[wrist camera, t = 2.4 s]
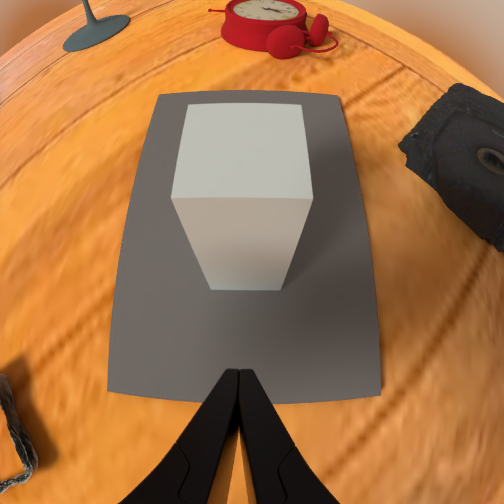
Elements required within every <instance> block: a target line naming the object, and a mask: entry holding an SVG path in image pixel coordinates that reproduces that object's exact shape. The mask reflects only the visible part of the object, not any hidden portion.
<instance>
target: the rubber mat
mask: <svg viewBox="0 0 504 504" xmlns="http://www.w3.org/2000/svg"><path fill="white" fill-rule="evenodd" d="M214 103H273V104H295V105H301V107H302V114H303V121H304V128H305V135H306V142H307V150H308V158H309V166H310V174H311V183H312V192H313V201H312V204H311V207H310V210H309V213H308V215H307V218H306V221H305V224H304V227H303V230H302V233H301V235H300V238H299V241H298V244H297V247H296V249H295V252H294V255H293V258H292V260H291V263H290V266H289V269H288V271H287V274H286V277H285V279H284V282H283V285H282V287H281V290H211V289H210V286H209V284H208V282H207V280H206V278H205V275H204V273H203V271H202V269H201V267H200V264H199V262H198V260H197V258H196V256H195V253H194V251H193V249H192V246H191V244H190V242H189V240H188V237H187V235H186V233H185V230H184V228H183V226H182V223H181V221H180V219H179V216H178V214H177V212H176V209H175V207H174V205H173V202H172V200H171V194H172V187H173V181H174V175H175V170H176V164H177V158H178V153H179V148H180V142H181V137H182V132H183V127H184V123H185V118H186V113H187V109H188V105H192V104H214ZM227 368H237V369H239V371H240V369H253V370H254V372H255V374H256V376H257V377H258V379H259V381H260V383H261V385H262V387H263V388H264V390H265V392H266V394H267V396H268V398H269V399H270V401H271V403H272V404H292V403H312V402H326V401H338V400H348V399H357V398H365V397H373V396H380V395H381V364H380V341H379V325H378V312H377V301H376V290H375V281H374V272H373V264H372V256H371V249H370V242H369V235H368V229H367V223H366V217H365V211H364V205H363V200H362V194H361V189H360V184H359V179H358V174H357V170H356V165H355V161H354V156H353V152H352V147H351V143H350V139H349V135H348V131H347V127H346V123H345V120H344V116H343V112H342V108H341V105H340V101H339V98H338V95H328V94H318V93H306V92H290V91H265V90H223V91H198V92H183V93H171V94H160V95H159V96H158V99H157V102H156V105H155V108H154V112H153V115H152V118H151V121H150V125H149V128H148V131H147V135H146V138H145V142H144V145H143V149H142V153H141V157H140V160H139V164H138V168H137V172H136V176H135V180H134V185H133V189H132V193H131V198H130V203H129V207H128V212H127V217H126V222H125V227H124V233H123V238H122V244H121V250H120V256H119V263H118V269H117V276H116V284H115V292H114V300H113V309H112V319H111V330H110V343H109V360H108V386H107V391H109V392H114V393H121V394H127V395H134V396H141V397H149V398H157V399H166V400H176V401H188V402H202V403H203V402H204V400H205V399H206V398H207V396H208V395H209V393H210V392H211V390H212V389H213V387H214V386H215V384H216V383H217V381H218V380H219V378H220V377H221V375H222V374H223V372H224V371H225V370H226V369H227Z"/></svg>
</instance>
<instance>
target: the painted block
mask: <svg viewBox="0 0 504 504" xmlns="http://www.w3.org/2000/svg"><path fill="white" fill-rule="evenodd" d="M171 200H172V202H173V205H174V207H175V209H176V212H177V214H178V216H179V219H180V221H181V223H182V226H183V228H184V230H185V233H186V235H187V237H188V240H189V242H190V244H191V246H192V249H193V251H194V253H195V256H196V258H197V260H198V262H199V264H200V267H201V269H202V271H203V273H204V275H205V278H206V280H207V282H208V284H209V286H210V289H211V290H281V287H282V285H283V282H284V279H285V277H286V274H287V271H288V269H289V266H290V263H291V260H292V258H293V255H294V252H295V249H296V247H297V244H298V241H299V238H300V235H301V233H302V230H303V227H304V224H305V221H306V218H307V215H308V213H309V210H310V207H311V204H312V201H313V192H312V183H311V174H310V166H309V158H308V150H307V142H306V135H305V128H304V121H303V114H302V107H301V105H295V104H273V103H214V104H192V105H188V109H187V113H186V118H185V123H184V127H183V132H182V137H181V142H180V148H179V153H178V158H177V164H176V170H175V175H174V181H173V187H172V194H171Z"/></svg>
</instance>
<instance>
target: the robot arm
mask: <svg viewBox="0 0 504 504" xmlns="http://www.w3.org/2000/svg"><path fill="white" fill-rule="evenodd" d="M238 433H240V443H241V450H242V458H243V466H244V473H245V480H246V487H247V495H248V501H249V504H340V503H339V502H338V501H337V500H336V498H335V497H334V496H333V495H332V494H331V493H330V492H329V490H328V489H327V488H326V487H325V486H324V485H323V484H322V482H321V481H320V480H319V479H318V478H317V476H316V475H315V474H314V472H313V471H312V470H311V469H310V467H309V466H308V464H307V463H306V461H305V460H304V458H303V457H302V455H301V453H300V452H299V450H298V448H297V447H296V446H295V443H294V442H293V440H292V438H291V437H290V435H289V433H288V431H287V430H286V428H285V426H284V424H283V423H282V421H281V419H280V417H279V416H278V414H277V412H276V410H275V408H274V407H273V405H272V403H271V401H270V399H269V398H268V396H267V394H266V392H265V390H264V388H263V387H262V385H261V383H260V381H259V379H258V377H257V376H256V374H255V372H254V370H253V369H240V371H239V369H237V368H227V369H226V370H225V371H224V372H223V374H222V375H221V377H220V378H219V380H218V381H217V383H216V384H215V386H214V387H213V389H212V390H211V392H210V393H209V395H208V396H207V398H206V399H205V400H204V402H203V403H202V405H201V406H200V408H199V409H198V411H197V412H196V414H195V415H194V416H193V418H192V419H191V421H190V422H189V424H188V425H187V426H186V428H185V429H184V431H183V432H182V434H181V435H180V436H179V438H178V439H177V441H176V443H174V445H173V446H172V447H171V449H170V450H169V452H168V453H167V454H166V455H165V457H164V458H163V459H162V460H161V462H160V463H159V464H158V465H157V466H156V467H155V468H154V470H153V471H152V472H151V473H150V474H149V475H148V476H147V477H146V478H145V479H144V480H143V481H142V482H141V483H140V484H139V485H138V486H137V487H136V488H135V489H134V490H133V491H132V492H131V493H129V494H128V495H127V496H126V497H125V498H124V499H123V500H122V501H121V502H119V503H118V504H227V499H228V493H229V487H230V482H231V476H232V470H233V464H234V458H235V452H236V446H237V440H238Z"/></svg>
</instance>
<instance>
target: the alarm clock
mask: <svg viewBox="0 0 504 504" xmlns="http://www.w3.org/2000/svg"><path fill="white" fill-rule="evenodd" d="M208 11H209V12H211V11H215V12H225V15H226V20H225V22H224V24H223V26H222V28H221V35H222V37H223V39H224V40H225V41H227V42H228V43H230V44H232V45H234V46H237V47H240V48H244V49H249V50H255V51H268V52H269V54H270V55H271V56H273V57H275V58H277V59H289V58H292V57H294V56H296V55H297V54H298V53H299V52H300V51H301V50H306V51H309V52H315V53H321V52H327V51H330V50H333V49H334V48H336V47H337V46H338V41H337V40H336V39H335V38H334V37H332V36H331V35H329V34H332V32H330V31H328V27H329V22H328V19H327V17H326V16H324V15H322V14H318V15H317V16H316V17H315V19H314V21H313V24H312V27H311V31H310V32H309V31H308V29H307V27H306V24H305V22H306V17H307V12H306V9H305V7H304V6H303V5H302V4H300V3H299V2H297V1H294V0H232V1H230V2H229V3H228V4H227V5H226V8H225V10H211V9H208ZM327 33H328V34H327ZM309 34H310V36H309ZM326 35H327V36H329V37H330V38H332V39H333V40H334V41H336V45H335V46H333V47H331V48H328V49H326V50H311V49H307V48H304V47H303V46H304V44H305V43H306V42H307V40H308V39H309V44H310V45H312V46H319V45H320V44H322V43H323V41H324V40H325V38H326Z"/></svg>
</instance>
